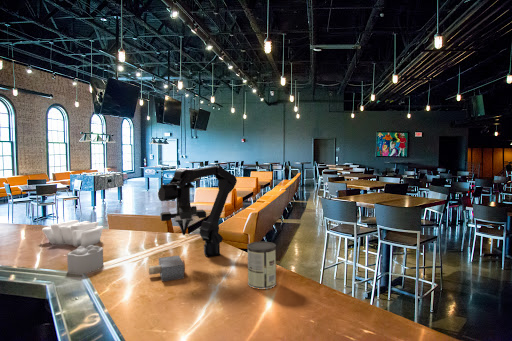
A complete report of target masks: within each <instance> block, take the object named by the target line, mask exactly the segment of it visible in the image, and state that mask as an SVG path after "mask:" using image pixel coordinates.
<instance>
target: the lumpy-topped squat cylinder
mask: <svg viewBox="0 0 512 341" xmlns="http://www.w3.org/2000/svg"><path fill="white" fill-rule="evenodd" d="M66 258H67V273H69V274H71V273H72V274H75V275H83V274H82V273H85V274H88V273H87V272H89V273H91V272H90V271H92V272H94V271H96V269H97V270H98V268H99V269H101V268H102V267H103V266H104V248H103V247H102V246H98V245H95V244H94V245H90V246H88V247H83V246H81V245H80V246H77V247H76V249H73V250H72V251H70V252H68V253H67V257H66ZM100 267H101V268H100ZM93 270H94V271H93Z"/></svg>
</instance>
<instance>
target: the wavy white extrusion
mask: <svg viewBox="0 0 512 341" xmlns="http://www.w3.org/2000/svg"><path fill="white" fill-rule="evenodd" d="M103 230H104V226H103V225H99V222H98V221H94V222H90V221H89V220H84V221H80V220H78V219H73V220H68V221H67V220H66V221H64V222H59V223H54V224H51V225H50V226H45V227H43V228H41V231H42V232H43V234H44V235H45V236H46V239H47V240H48V242H49V243H50V244H54V245H55V244H56V245H71V246H73V247H76V248H78V247H80V246H83V247H88V246H90V245H94V246H95V245H96V244H98V243H99V242H100V241H101V236H102V233H103Z"/></svg>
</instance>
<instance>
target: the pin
mask: <svg viewBox="0 0 512 341" xmlns="http://www.w3.org/2000/svg"><path fill="white" fill-rule="evenodd" d="M181 260H182V262H183V264H184V273H185V271H186V264H185V260H184V259H181ZM148 273H149V274H148V275H149V276H150V275H158V274H159V275H160V273H161V265H159V264H158V265H151V266H148Z"/></svg>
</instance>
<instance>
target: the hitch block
mask: <svg viewBox="0 0 512 341" xmlns="http://www.w3.org/2000/svg"><path fill="white" fill-rule="evenodd" d="M182 260H183V259H182V258H181V256H180V255H172V256H164V257H162V256H161V257H158V265H161V273H159V276H160V280H161V282H168V281H174V280H176V281H177V280H182V279H185V272H184V264H183V262H182Z"/></svg>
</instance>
